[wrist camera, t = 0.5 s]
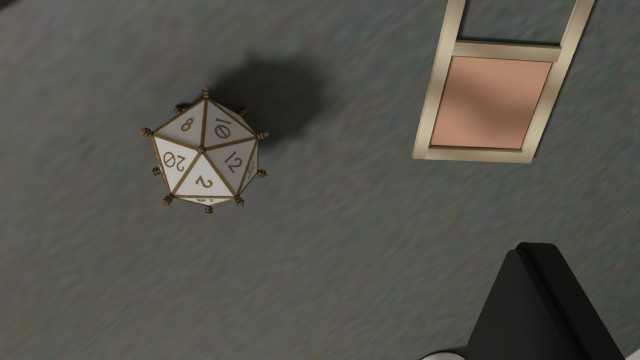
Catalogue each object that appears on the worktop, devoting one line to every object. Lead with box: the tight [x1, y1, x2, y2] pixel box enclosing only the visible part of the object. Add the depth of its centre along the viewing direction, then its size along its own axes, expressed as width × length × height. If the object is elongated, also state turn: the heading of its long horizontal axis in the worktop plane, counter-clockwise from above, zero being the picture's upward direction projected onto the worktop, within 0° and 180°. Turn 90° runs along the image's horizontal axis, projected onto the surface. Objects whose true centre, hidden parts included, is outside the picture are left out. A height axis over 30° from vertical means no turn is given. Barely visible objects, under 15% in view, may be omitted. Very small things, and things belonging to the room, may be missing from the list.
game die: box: [139, 85, 269, 215], centre depth 39 cm, size 9×8×10 cm
